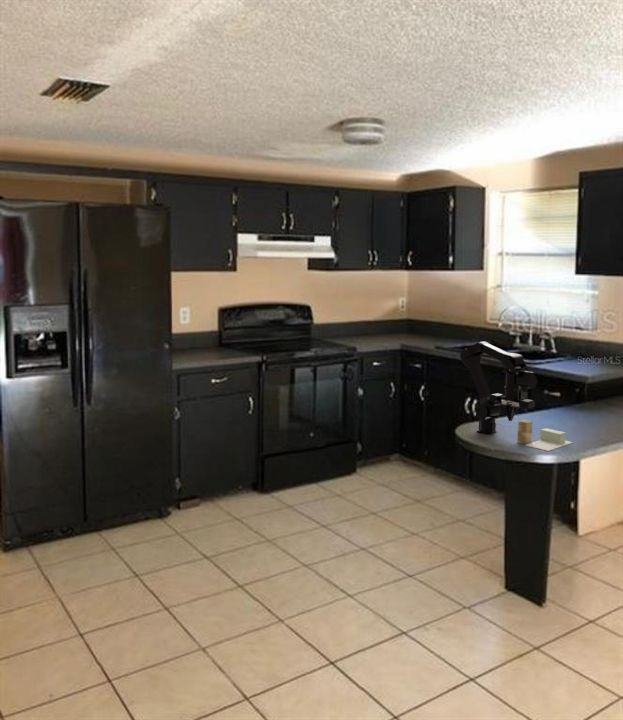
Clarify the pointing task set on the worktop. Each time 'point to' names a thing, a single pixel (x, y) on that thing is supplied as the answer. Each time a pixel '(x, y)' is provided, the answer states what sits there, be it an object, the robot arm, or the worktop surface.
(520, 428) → the oak block
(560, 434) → the sage block
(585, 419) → the worktop surface
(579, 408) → the worktop surface
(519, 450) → the worktop surface
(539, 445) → the mat
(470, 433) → the worktop surface
